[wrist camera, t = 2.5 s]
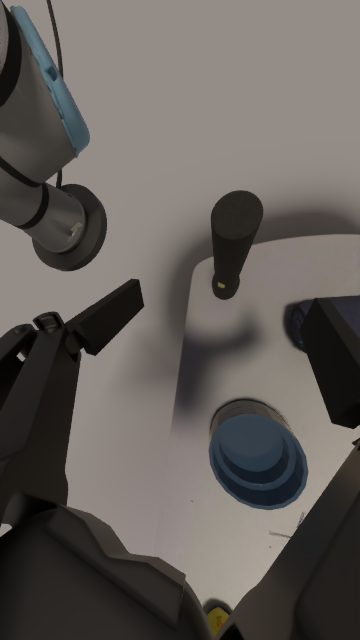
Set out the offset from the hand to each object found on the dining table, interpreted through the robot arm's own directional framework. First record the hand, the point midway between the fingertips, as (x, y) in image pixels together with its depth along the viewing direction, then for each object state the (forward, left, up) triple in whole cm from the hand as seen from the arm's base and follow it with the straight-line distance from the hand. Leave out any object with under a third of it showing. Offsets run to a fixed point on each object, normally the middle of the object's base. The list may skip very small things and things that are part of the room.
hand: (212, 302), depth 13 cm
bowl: (+25, +3, -23) cm, 34 cm away
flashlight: (-6, +2, -23) cm, 24 cm away
